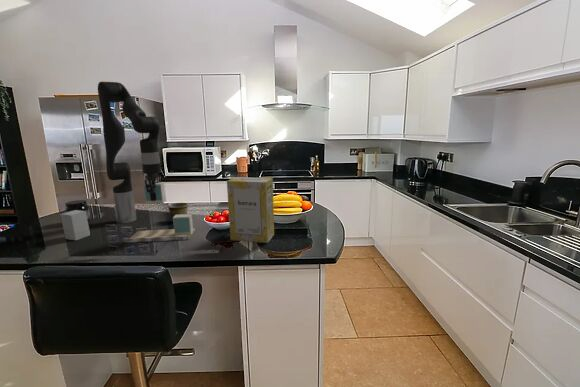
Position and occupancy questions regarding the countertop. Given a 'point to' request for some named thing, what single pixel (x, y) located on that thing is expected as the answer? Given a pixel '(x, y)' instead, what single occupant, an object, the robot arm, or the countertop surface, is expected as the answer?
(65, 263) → the countertop surface
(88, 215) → the supplement container
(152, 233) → the shelf
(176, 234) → the faced carton
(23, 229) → the countertop surface
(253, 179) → the pasta box
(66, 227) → the supplement box
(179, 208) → the ceramic cup
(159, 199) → the carton
